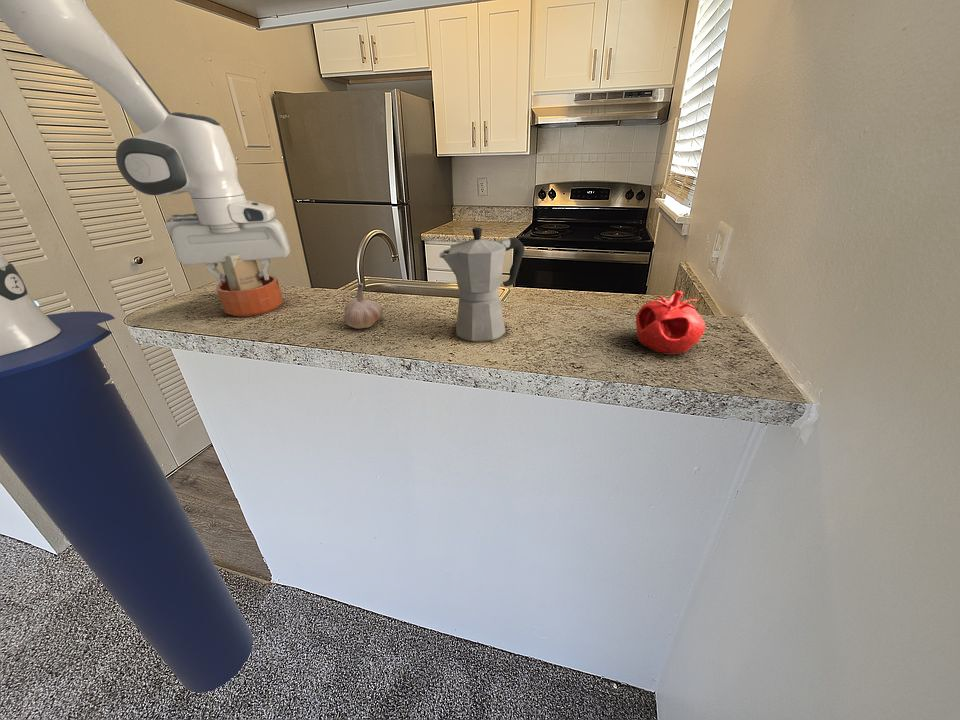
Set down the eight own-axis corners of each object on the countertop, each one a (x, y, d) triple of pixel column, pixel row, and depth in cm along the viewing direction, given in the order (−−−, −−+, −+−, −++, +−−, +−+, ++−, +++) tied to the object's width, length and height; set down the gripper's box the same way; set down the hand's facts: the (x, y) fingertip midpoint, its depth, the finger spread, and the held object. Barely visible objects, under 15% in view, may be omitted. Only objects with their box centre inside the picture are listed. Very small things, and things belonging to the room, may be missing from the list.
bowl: (217, 320, 81) (208, 294, 78) (233, 301, 90) (225, 277, 88) (278, 313, 83) (271, 288, 80) (287, 295, 93) (281, 272, 90)
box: (246, 310, 83) (228, 257, 78) (234, 307, 85) (216, 254, 80) (269, 302, 87) (254, 251, 82) (257, 299, 89) (242, 249, 84)
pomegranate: (656, 327, 71) (666, 276, 67) (711, 347, 64) (727, 291, 60) (619, 342, 67) (627, 288, 62) (674, 366, 59) (688, 307, 55)
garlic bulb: (378, 313, 81) (371, 274, 77) (391, 325, 76) (385, 284, 72) (340, 322, 78) (332, 282, 74) (352, 335, 72) (343, 292, 69)
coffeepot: (457, 350, 66) (450, 238, 57) (436, 329, 73) (427, 227, 65) (536, 330, 72) (540, 225, 63) (509, 313, 79) (509, 217, 71)
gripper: (154, 218, 72) (183, 291, 79) (277, 211, 77) (294, 281, 83) (168, 212, 78) (194, 282, 84) (282, 206, 82) (298, 273, 89)
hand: (245, 282), depth 84 cm, fingers closed on box, 6 cm apart
